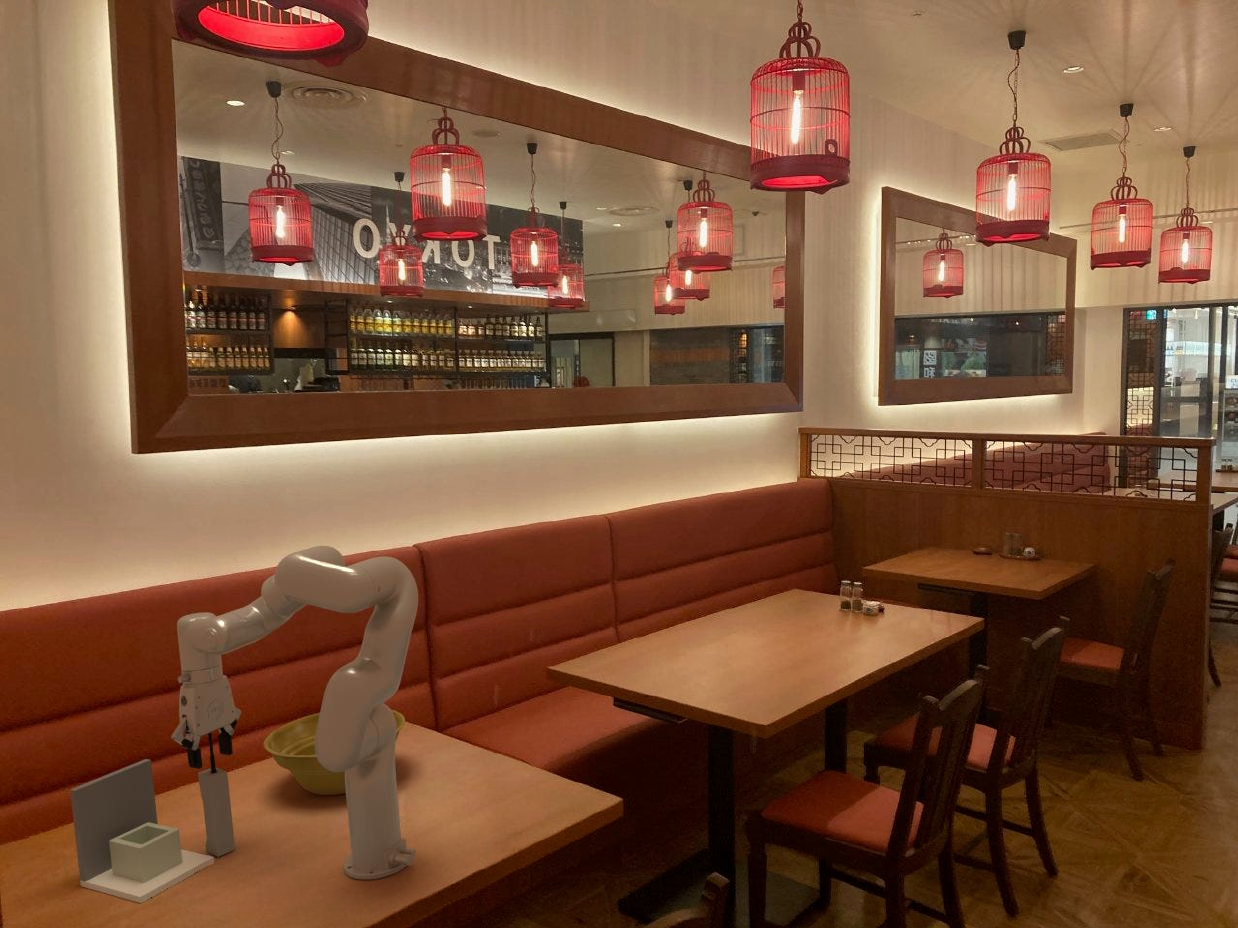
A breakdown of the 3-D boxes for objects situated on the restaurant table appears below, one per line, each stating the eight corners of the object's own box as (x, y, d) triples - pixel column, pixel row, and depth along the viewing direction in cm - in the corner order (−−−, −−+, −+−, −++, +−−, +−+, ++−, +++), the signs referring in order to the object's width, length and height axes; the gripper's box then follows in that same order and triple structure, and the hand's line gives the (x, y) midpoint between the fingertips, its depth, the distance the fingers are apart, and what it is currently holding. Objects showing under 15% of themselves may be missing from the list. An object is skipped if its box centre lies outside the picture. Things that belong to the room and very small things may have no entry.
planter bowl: (337, 823, 200) (331, 762, 199) (239, 800, 217) (233, 744, 216) (437, 767, 228) (432, 714, 227) (343, 751, 244) (338, 701, 243)
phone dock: (214, 862, 186) (204, 768, 185) (140, 903, 172) (130, 802, 171) (155, 848, 194) (145, 758, 193) (80, 885, 180) (70, 789, 179)
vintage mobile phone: (223, 844, 194) (211, 727, 192) (235, 850, 191) (223, 731, 189) (205, 851, 191) (193, 732, 189) (217, 858, 188) (205, 737, 186)
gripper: (177, 689, 179) (186, 779, 180) (250, 663, 195) (258, 747, 196) (151, 686, 183) (161, 774, 184) (225, 661, 198) (233, 743, 199)
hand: (211, 759), depth 190 cm, fingers open, 6 cm apart
